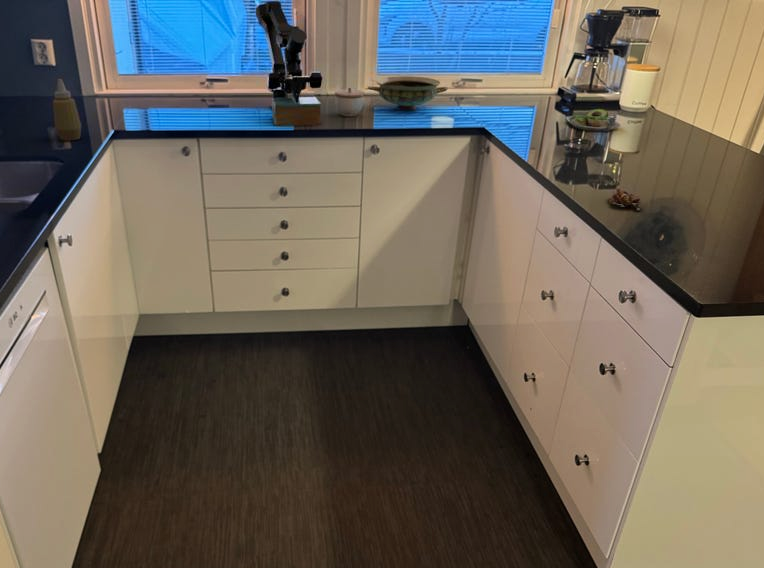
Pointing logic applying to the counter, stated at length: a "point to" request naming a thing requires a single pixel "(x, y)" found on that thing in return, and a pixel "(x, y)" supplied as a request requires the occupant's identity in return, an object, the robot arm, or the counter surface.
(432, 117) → the counter surface
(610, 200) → the pastry
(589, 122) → the salad plate
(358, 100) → the trinket box
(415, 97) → the ceramic bowl
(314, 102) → the lid
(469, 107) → the counter surface
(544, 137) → the counter surface
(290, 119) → the toy box
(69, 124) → the squeeze bottle
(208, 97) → the counter surface
